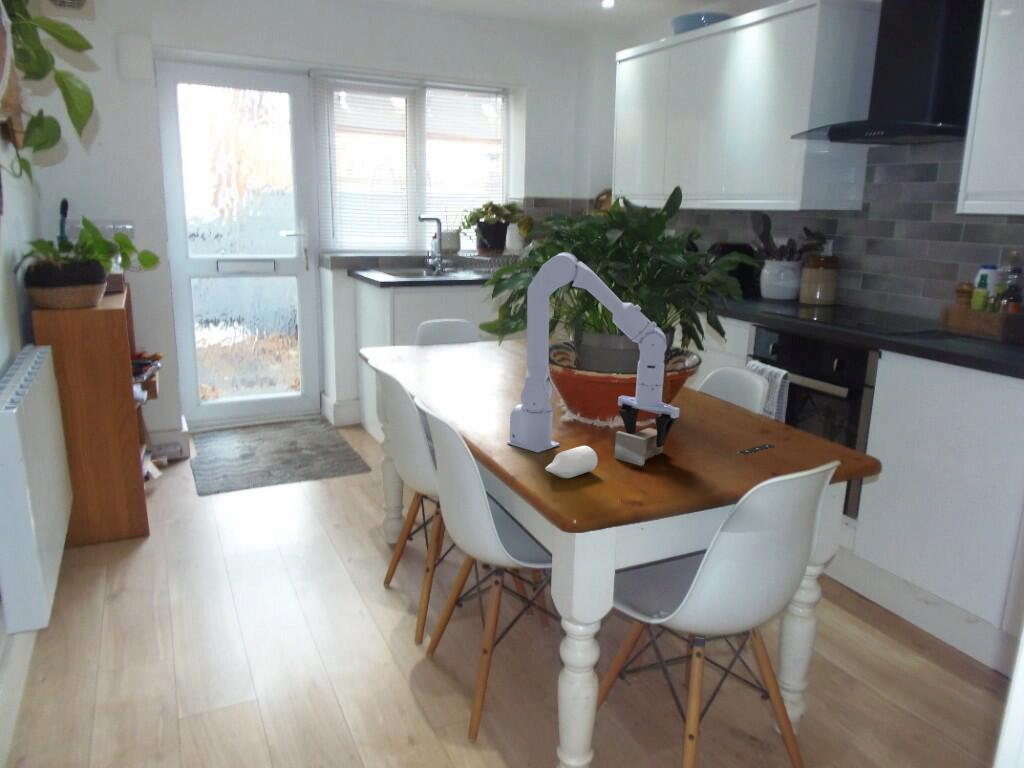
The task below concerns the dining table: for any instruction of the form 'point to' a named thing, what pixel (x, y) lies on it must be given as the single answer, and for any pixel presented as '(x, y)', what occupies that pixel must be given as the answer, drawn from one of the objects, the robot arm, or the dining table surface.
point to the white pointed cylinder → (573, 462)
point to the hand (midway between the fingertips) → (645, 442)
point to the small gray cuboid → (637, 446)
